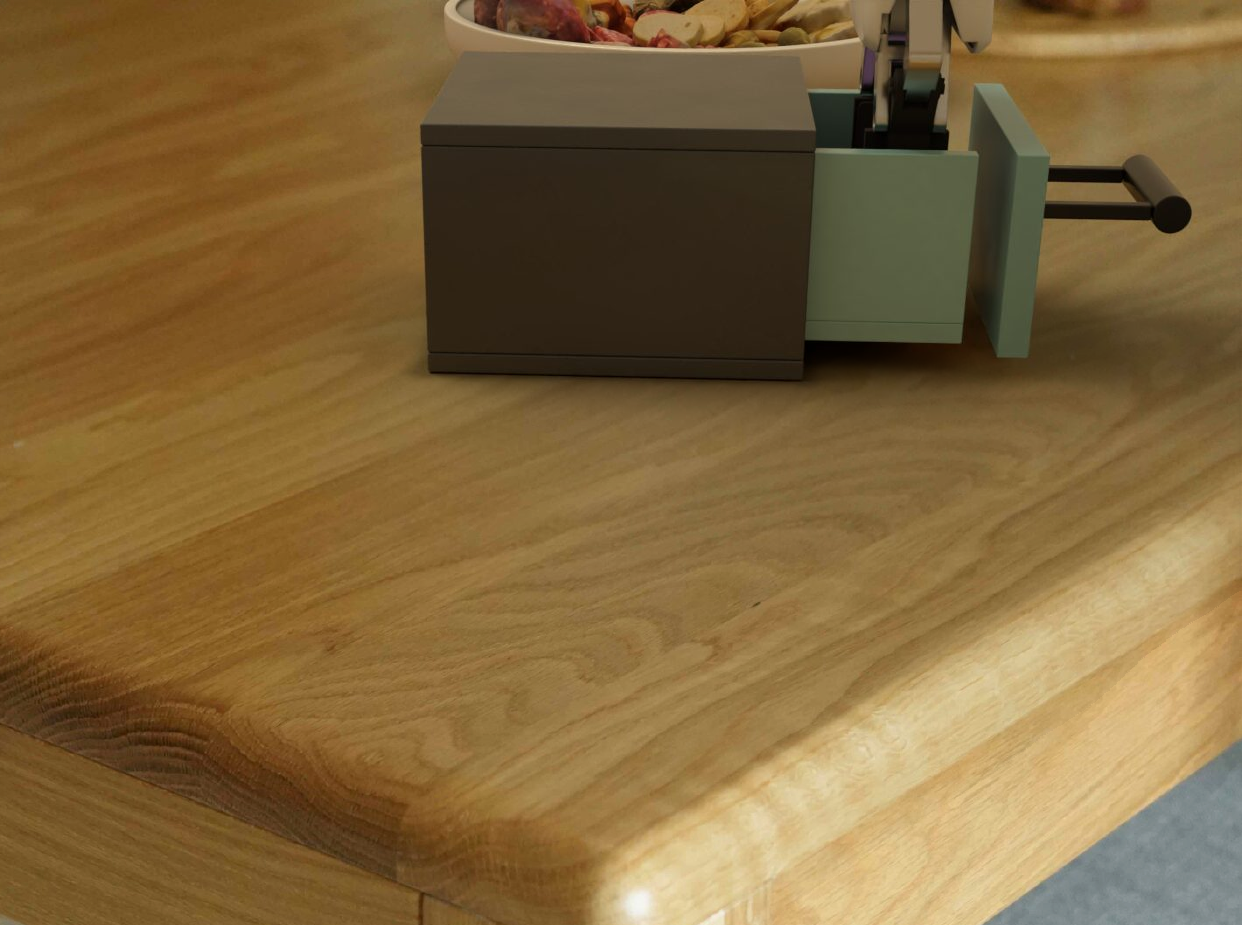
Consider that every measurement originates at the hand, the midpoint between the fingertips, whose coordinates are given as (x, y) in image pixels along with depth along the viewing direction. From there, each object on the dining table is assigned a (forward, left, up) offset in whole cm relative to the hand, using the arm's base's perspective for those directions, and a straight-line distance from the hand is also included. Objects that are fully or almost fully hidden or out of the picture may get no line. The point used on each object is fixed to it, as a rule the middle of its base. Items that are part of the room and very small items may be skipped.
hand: (892, 207), depth 81 cm
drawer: (-1, 0, -4) cm, 4 cm away
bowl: (+9, -49, -5) cm, 50 cm away
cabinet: (+11, 0, -5) cm, 12 cm away
